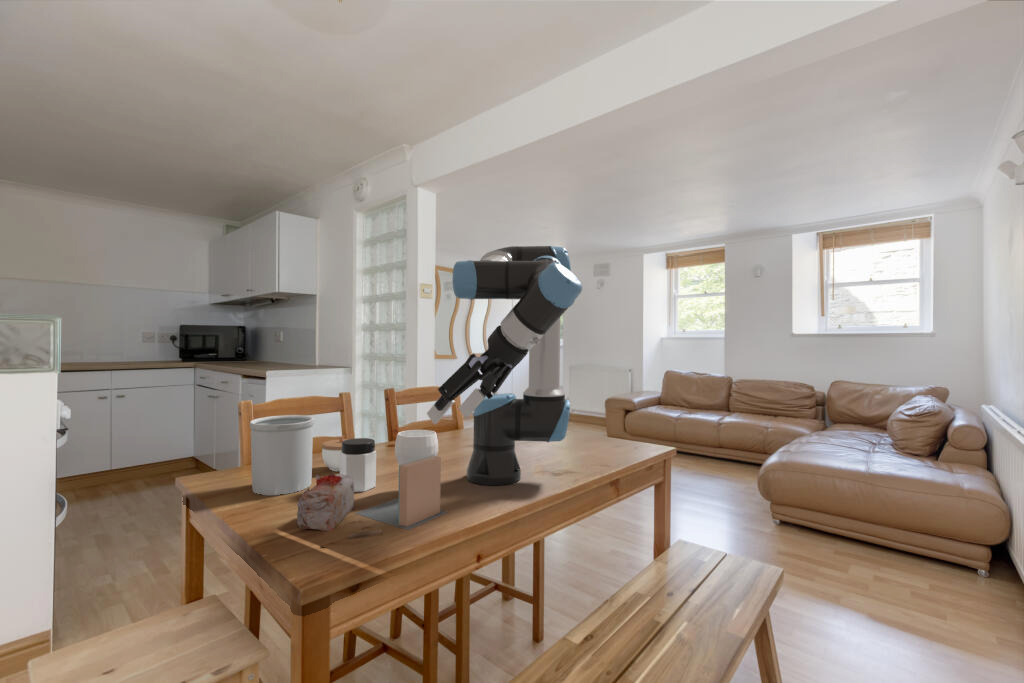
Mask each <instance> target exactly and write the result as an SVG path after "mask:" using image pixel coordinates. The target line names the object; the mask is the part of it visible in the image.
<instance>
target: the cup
mask: <svg viewBox="0 0 1024 683" xmlns="http://www.w3.org/2000/svg"><path fill="white" fill-rule="evenodd" d="M438 453H439V440H438V437H437V432H436V431H434V430H429V429H409V430H403V431H400V432H398V433H397V434H396V438H395V442H394V455H395V457H396V462H397V464H398V466H399V465H401V464H404V463H408V462H412V461H415V460H419V459H422V458H426V457H430V456H437V457H438Z"/></svg>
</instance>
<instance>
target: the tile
mask: <svg viewBox="0 0 1024 683" xmlns="http://www.w3.org/2000/svg"><path fill="white" fill-rule="evenodd" d="M441 463H442V457H441V456H438V455H437V456H430V457H426V458H422V459H419V460H415V461H412V462H408V463H404V464H401V465H399V464H398V498H397V499H398V524H399V525H402V526H406V527H407V526H410V525H412V524H414V523H416V522H419V521H421V520H423V519H426V518H428V517H430V516H433V515H435V514H437V513H440V510H441V476H442V475H441V472H442V471H441V470H442V469H441V468H442V467H441V466H442V464H441Z"/></svg>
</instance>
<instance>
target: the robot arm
mask: <svg viewBox="0 0 1024 683" xmlns="http://www.w3.org/2000/svg"><path fill="white" fill-rule="evenodd" d="M452 288H453V289H452V290H453V293H454V296H455V297H456V298H458V299H465V300H471V301H473V300H519V301H518V302H516V304H515V305H514V306H513V307H512V308H511V310H509V312H508V313H507V314H506V316H505V317H504V318H503V319H502V320H501V322H500V325H498V326H496V328H495V329H494V330H493V332H491V334H490V335H489V336H488V338H487V346H488V347H487V350H485V351H484V352H483V353H481V355H480V356H477V355H476V354H475V353H471V354H470V355H469V357H468V358H467V360H466V361H465V362H464V363H463V364H462V365H460V367H459V368H458V369H456V370H455V372H454V373H453V374H452V375H451V376H450V377H448V379H447V380H445V381H444V382H443V383H442V385H440V386H439V387H438V389H437V390H438V392H439V393H440V397H439V398H438V399H437V400H436V401H435V402H434V403H433V404H432V406H431V407H430V409H429V410H428V411H427V412H426V415H427V416H428V418H429V419H430V421H431V422H432V424H433V425H436V424H438V423H439V421H440V420H441V419H442V418H443V417H444V416H445V414H446V413H447V412H448V411H449V410H450V408H451V407H452V406H453V405H454V404H455V403H456V401H455V399H457V398H458V397H459V396H460V395H462V394H463V393H464V392H465V391H467V390H468V389H469V388H471V387H472V386H473V385H474V384H476V383H477V382H478V381H481V383H480V385H479V387H475V388H474V389H473V391H472V392H471V393H470V394H469V395H468V396H467V398H466V399H465V400H464V401H463V402H462V403H461V404H460V406H459V407H458V410H459V411H460V413H461V414H462V415H463V417H464V418H465V419H466V418H469V417H470V416H471V414H472V413H473V414H472V416H473V444H472V445H473V446H472V447H473V450H472V453H471V456H470V459H469V462H468V466H467V469H466V479H467V481H469V482H470V483H473V484H478V485H485V486H504V484H505V485H509V484H510V483H511V484H514V483H517V482H519V481H520V480H521V474H522V472H521V467H520V464H519V460H518V457H517V454H516V448H515V447H516V442H546V443H553V442H561V441H563V440H564V439H565V438H566V436H567V432H568V427H569V421H570V408H571V402H570V400H569V399H567V398H566V394H565V392H564V391H563V390H562V389H561V387H560V378H561V377H560V375H561V374H560V372H561V370H560V368H561V367H560V366H561V317H562V316H563V314H564V313H565V312H566V311H567V310H568V309H569V308H570V307H571V306H573V305H574V303H575V301H576V300H577V298H578V297H579V295H581V293H582V291H583V285H582V282H581V281H580V280H579V278H578V277H577V276H576V275H575V274H574V273H573V272H572V268H571V260H570V255H569V253H568V250H567V249H566V248H565V247H563V246H555V245H554V246H553V245H540V246H539V245H531V246H528V245H526V246H524V245H523V246H518V245H517V246H513V245H512V246H506V247H502V248H501V247H500V248H497V249H494V250H491V251H487V252H486V253H485V254H484V255H482V257H481V258H480V260H469V259H468V260H459V261H456V262H455V263H454V265H453V268H452ZM527 355H528V387H527V388H526V389H525V390H524V391H523V392H522V398H517V396H516V394H515V393H513V392H512V393H509V392H508V393H507V392H506V393H498V394H497V392H498V391H499V390H500V388H501V386H502V385H503V383H505V381H506V379H507V378H508V376H509V375H510V373H511V372H512V371H513V370H514V368H516V366H517V365H518V364H520V363H521V362H522V360H524V358H525V357H526V356H527ZM480 372H481V373H480ZM518 480H519V481H518ZM516 481H517V482H516Z"/></svg>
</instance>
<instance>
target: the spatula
mask: <svg viewBox="0 0 1024 683" xmlns="http://www.w3.org/2000/svg"><path fill="white" fill-rule="evenodd" d="M378 535H379V536H381V535H383V530H382V529H381V528H380V529H373V530H368V531H361V532H359V531H358V532H354V533H349V534H348V539H349V540H352V539H358V538H366V537H367V538H368V537H372V536H378ZM319 546H320V547H319V548H320V550H321V548H323V549H326V547H325V546H323V545H319Z"/></svg>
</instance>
